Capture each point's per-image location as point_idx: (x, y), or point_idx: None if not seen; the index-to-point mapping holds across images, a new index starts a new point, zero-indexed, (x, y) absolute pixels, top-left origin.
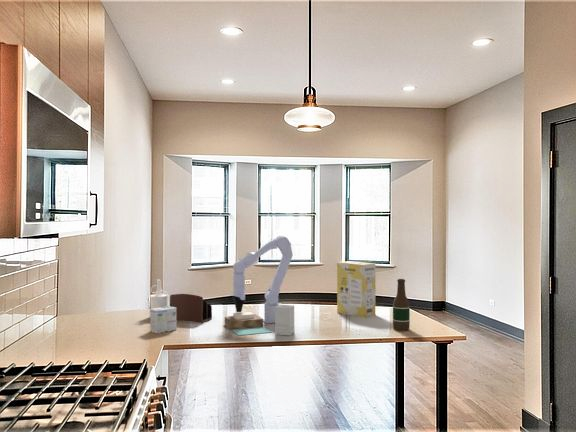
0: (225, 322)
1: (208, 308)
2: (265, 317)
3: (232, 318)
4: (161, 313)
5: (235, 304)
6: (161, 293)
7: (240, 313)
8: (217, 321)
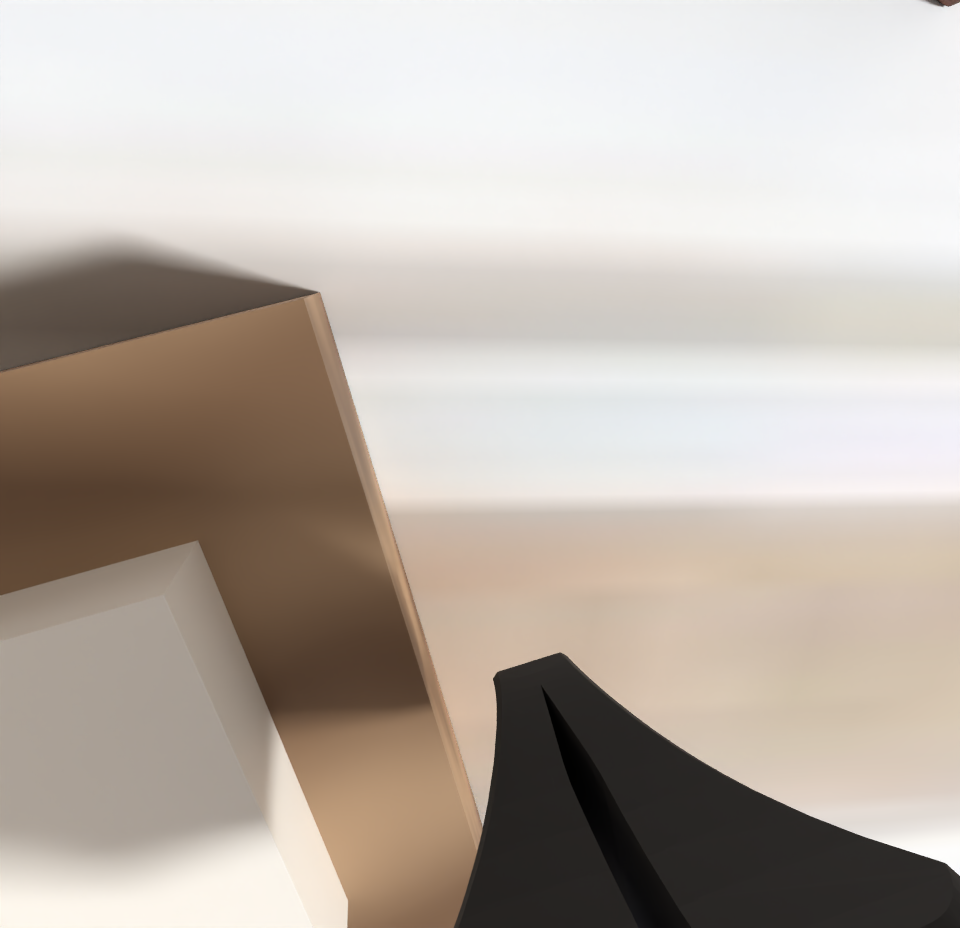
0: (247, 310)
1: None
2: None
3: (18, 524)
4: None
5: (627, 788)
6: None
7: (119, 799)
8: (678, 134)
